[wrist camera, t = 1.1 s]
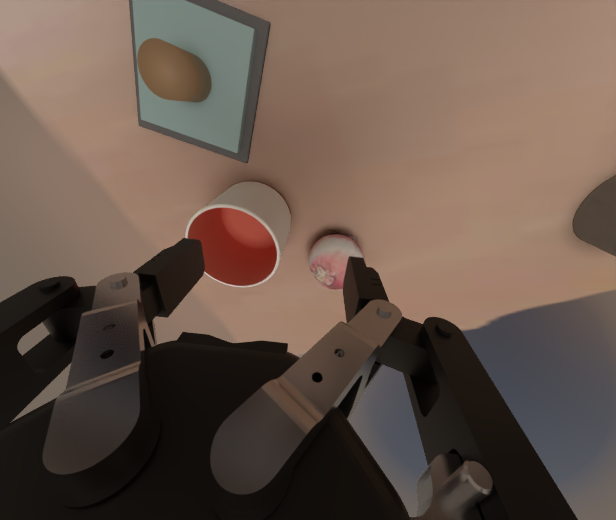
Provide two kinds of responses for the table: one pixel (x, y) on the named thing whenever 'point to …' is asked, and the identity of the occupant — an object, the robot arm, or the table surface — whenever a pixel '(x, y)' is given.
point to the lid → (193, 70)
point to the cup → (242, 234)
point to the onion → (332, 258)
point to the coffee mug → (598, 217)
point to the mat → (262, 29)
